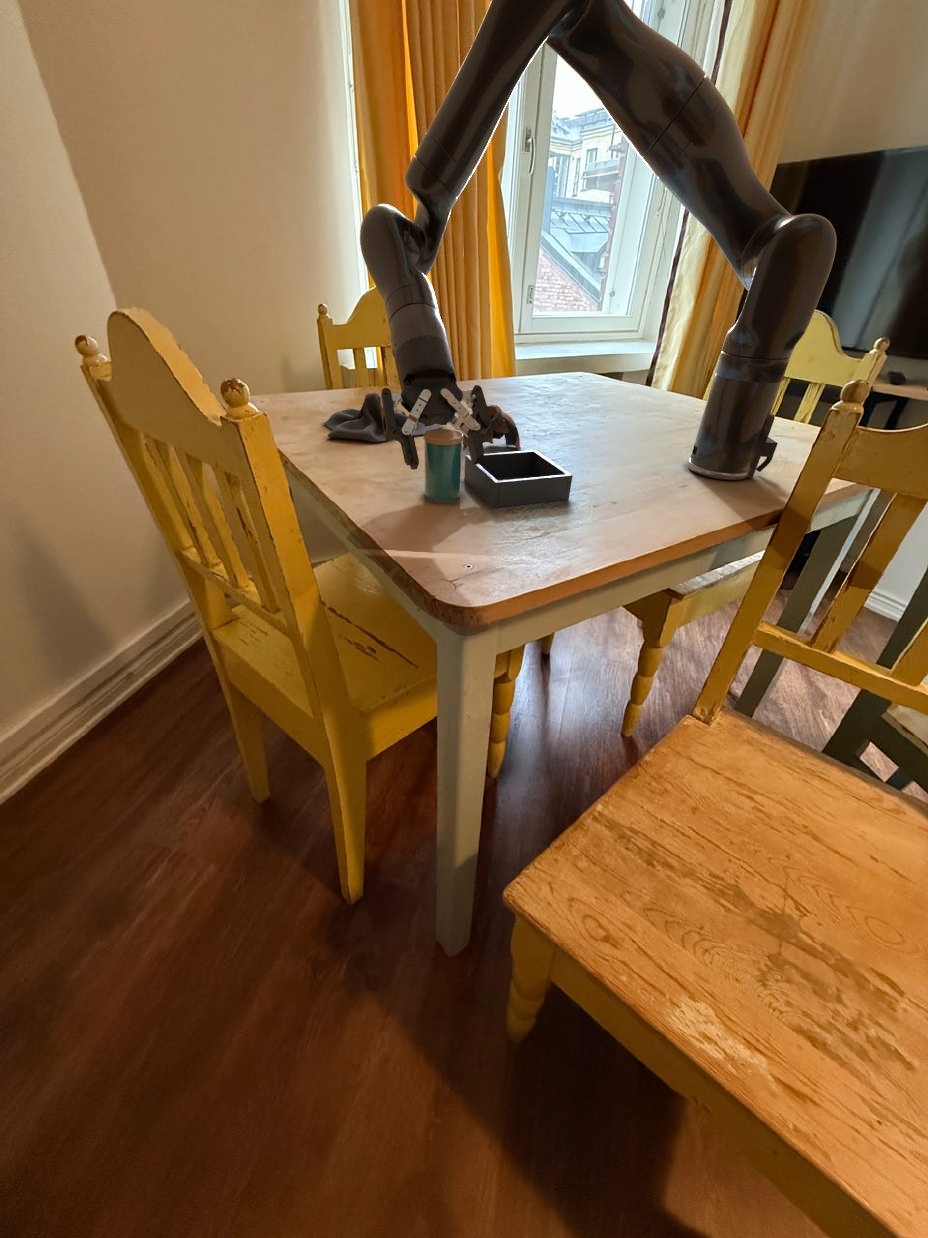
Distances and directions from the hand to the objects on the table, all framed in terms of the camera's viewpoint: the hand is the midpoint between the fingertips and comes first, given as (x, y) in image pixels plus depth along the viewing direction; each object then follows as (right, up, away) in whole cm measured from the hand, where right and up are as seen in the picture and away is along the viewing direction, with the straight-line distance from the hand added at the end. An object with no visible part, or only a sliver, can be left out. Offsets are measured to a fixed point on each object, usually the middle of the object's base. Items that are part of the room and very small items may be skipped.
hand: (447, 464), depth 68 cm
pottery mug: (+7, +9, +23) cm, 26 cm away
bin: (+9, -2, +6) cm, 12 cm away
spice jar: (-1, -3, +4) cm, 5 cm away
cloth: (-14, +16, +31) cm, 38 cm away
